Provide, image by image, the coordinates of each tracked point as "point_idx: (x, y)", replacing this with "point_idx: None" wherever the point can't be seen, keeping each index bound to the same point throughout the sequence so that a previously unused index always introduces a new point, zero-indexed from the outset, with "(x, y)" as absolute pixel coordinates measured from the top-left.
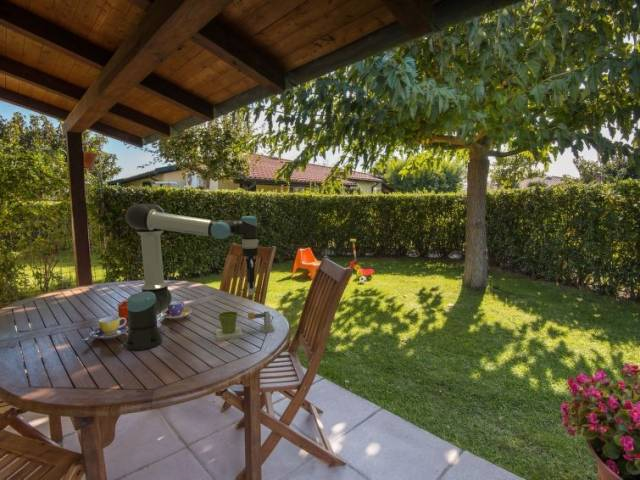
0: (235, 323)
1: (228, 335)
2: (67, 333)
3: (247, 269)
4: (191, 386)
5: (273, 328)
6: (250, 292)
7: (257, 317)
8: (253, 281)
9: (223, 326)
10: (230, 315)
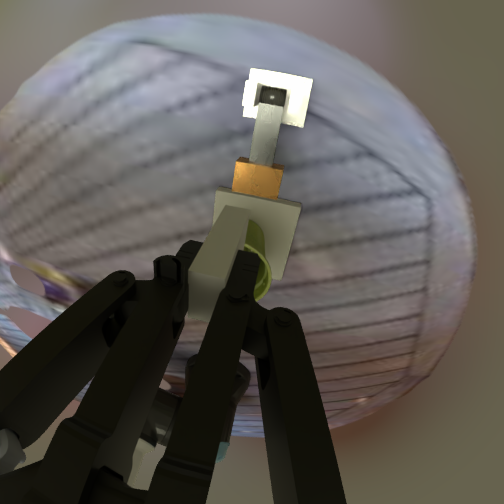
0: (251, 232)
1: (283, 249)
2: None
3: (76, 394)
4: (442, 344)
5: (308, 81)
6: (243, 245)
7: (275, 149)
8: (250, 296)
9: None
10: None
